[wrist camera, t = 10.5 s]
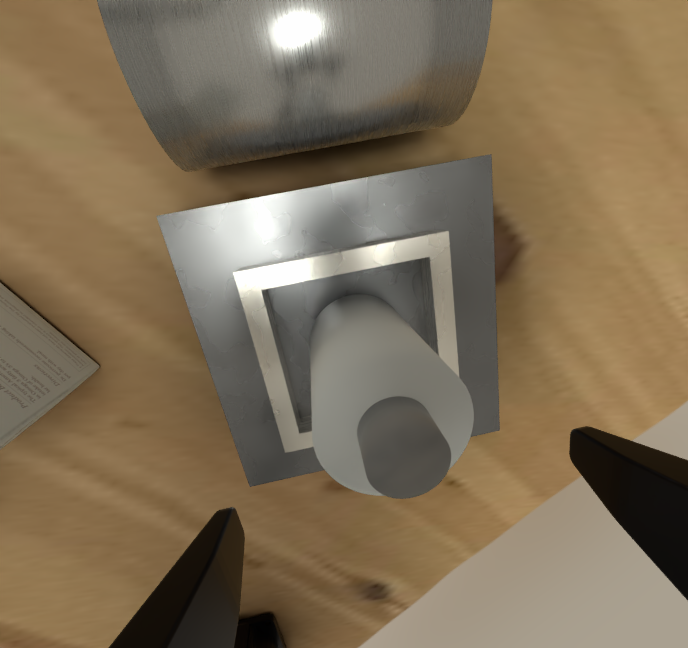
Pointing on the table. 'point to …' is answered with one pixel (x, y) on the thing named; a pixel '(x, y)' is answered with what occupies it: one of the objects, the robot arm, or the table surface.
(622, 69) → the table surface
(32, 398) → the supplement box
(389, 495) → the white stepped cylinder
